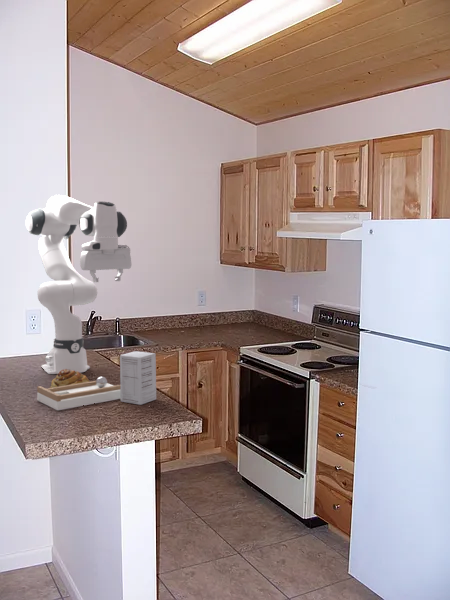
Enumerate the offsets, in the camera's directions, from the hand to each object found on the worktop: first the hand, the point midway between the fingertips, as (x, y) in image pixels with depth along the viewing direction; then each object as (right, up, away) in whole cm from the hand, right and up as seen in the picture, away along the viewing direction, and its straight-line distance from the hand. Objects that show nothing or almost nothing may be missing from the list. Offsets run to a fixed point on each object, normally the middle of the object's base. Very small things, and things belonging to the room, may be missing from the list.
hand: (106, 281), depth 240 cm
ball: (0, -37, -9) cm, 38 cm away
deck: (-7, -42, -13) cm, 45 cm away
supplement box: (+14, -43, -14) cm, 47 cm away
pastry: (-14, -41, +2) cm, 43 cm away
